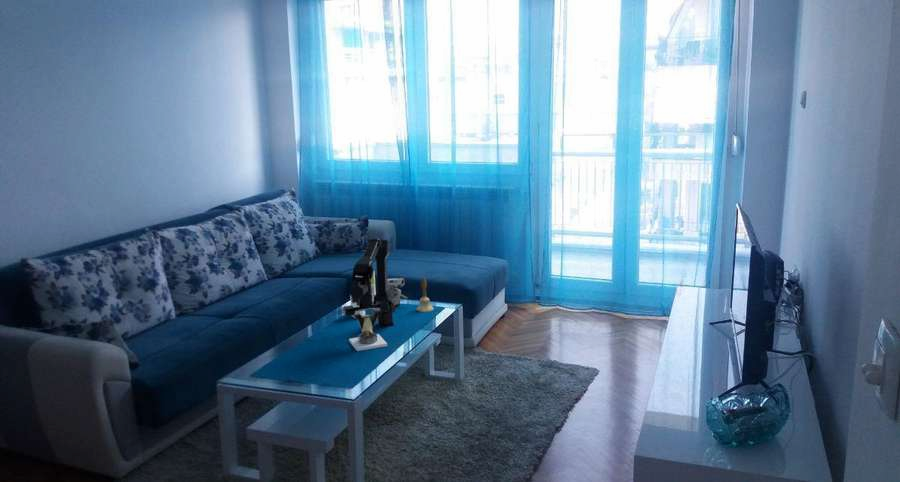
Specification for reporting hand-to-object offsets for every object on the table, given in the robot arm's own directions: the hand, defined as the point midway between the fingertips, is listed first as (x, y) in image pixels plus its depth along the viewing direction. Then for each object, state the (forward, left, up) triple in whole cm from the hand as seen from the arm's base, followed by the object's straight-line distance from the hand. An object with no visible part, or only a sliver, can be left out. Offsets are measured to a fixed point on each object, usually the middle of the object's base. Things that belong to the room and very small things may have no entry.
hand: (367, 327), depth 291 cm
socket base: (0, 0, -7) cm, 7 cm away
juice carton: (-14, -53, -7) cm, 55 cm away
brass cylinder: (0, 0, -3) cm, 3 cm away
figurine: (-26, -43, -7) cm, 51 cm away
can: (-6, -39, -7) cm, 40 cm away
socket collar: (0, 0, -6) cm, 6 cm away
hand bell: (-38, -34, -7) cm, 51 cm away
